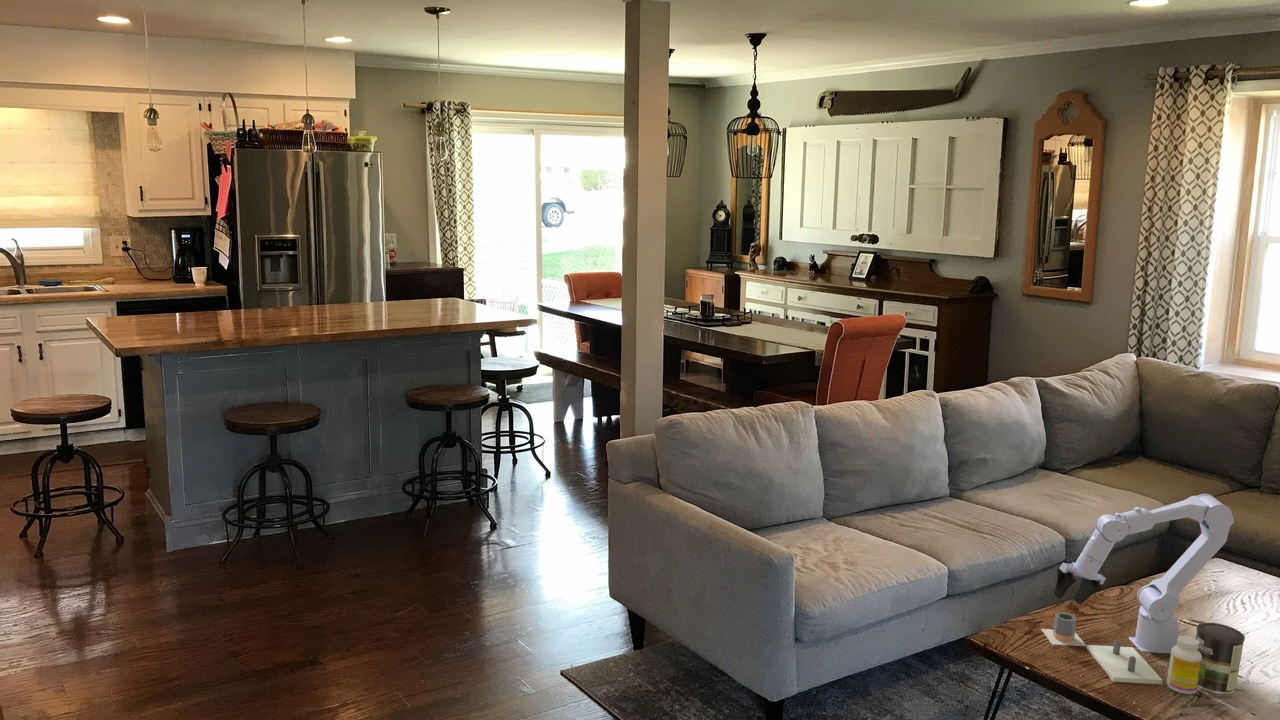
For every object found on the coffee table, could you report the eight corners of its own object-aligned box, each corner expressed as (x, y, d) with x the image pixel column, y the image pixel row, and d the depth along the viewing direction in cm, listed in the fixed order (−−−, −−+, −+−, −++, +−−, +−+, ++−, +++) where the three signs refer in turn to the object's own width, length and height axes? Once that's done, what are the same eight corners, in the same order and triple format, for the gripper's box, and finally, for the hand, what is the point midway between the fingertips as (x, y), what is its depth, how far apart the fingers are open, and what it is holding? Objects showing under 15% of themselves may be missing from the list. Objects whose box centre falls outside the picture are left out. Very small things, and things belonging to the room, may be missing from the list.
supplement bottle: (1200, 697, 241) (1208, 648, 238) (1171, 693, 242) (1178, 644, 240) (1191, 683, 247) (1198, 635, 245) (1162, 680, 248) (1169, 632, 246)
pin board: (1132, 651, 263) (1134, 633, 262) (1162, 684, 246) (1164, 665, 245) (1086, 649, 263) (1088, 631, 262) (1112, 681, 247) (1115, 663, 246)
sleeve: (1069, 633, 271) (1071, 613, 270) (1076, 642, 266) (1078, 621, 265) (1050, 632, 272) (1053, 612, 270) (1057, 641, 267) (1059, 620, 265)
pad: (1073, 631, 273) (1074, 630, 273) (1086, 647, 264) (1086, 646, 264) (1040, 630, 274) (1040, 628, 274) (1052, 645, 265) (1052, 644, 265)
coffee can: (1206, 695, 242) (1214, 641, 239) (1180, 674, 252) (1187, 622, 249) (1246, 694, 243) (1254, 641, 240) (1218, 673, 253) (1226, 622, 250)
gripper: (1101, 555, 270) (1076, 596, 273) (1063, 542, 264) (1038, 585, 267) (1119, 569, 263) (1093, 611, 266) (1081, 556, 258) (1055, 599, 261)
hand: (1067, 599), depth 266 cm, fingers open, 7 cm apart
